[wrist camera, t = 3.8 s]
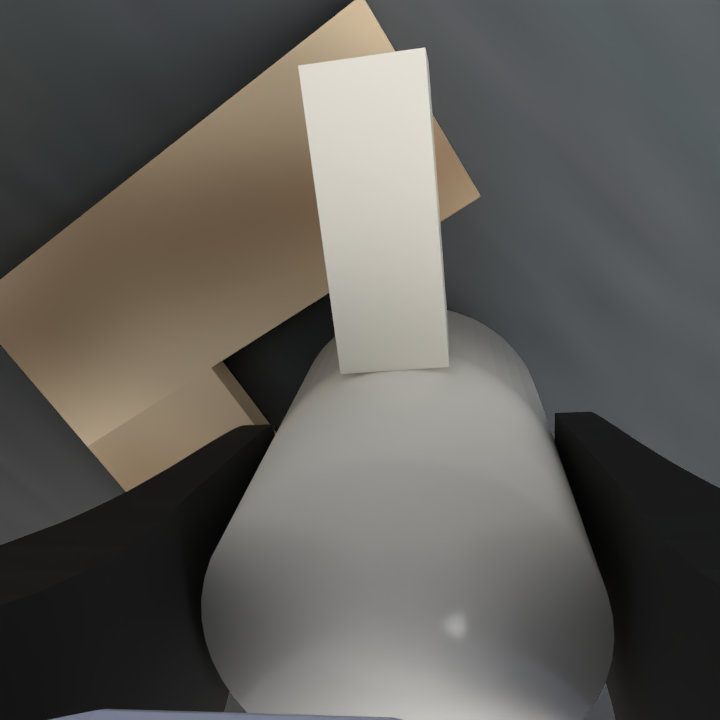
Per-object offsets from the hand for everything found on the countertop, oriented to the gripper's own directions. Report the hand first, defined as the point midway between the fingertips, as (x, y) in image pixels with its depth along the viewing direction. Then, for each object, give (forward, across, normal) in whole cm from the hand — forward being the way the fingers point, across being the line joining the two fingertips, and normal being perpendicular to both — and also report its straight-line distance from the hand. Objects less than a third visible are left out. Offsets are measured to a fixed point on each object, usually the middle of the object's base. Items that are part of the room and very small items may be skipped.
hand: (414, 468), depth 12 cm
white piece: (+2, 0, -2) cm, 3 cm away
